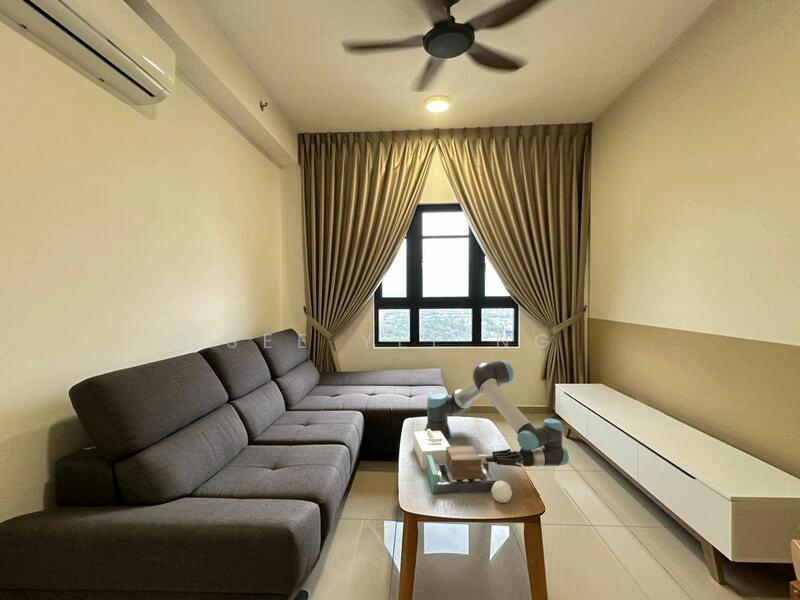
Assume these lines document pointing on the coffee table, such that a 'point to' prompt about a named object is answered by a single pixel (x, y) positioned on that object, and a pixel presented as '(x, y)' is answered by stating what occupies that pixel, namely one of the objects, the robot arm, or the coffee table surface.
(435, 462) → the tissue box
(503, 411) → the robot arm
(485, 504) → the coffee table surface
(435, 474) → the teal stop bar
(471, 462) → the brown wooden block
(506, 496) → the geometric ball
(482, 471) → the roller track
